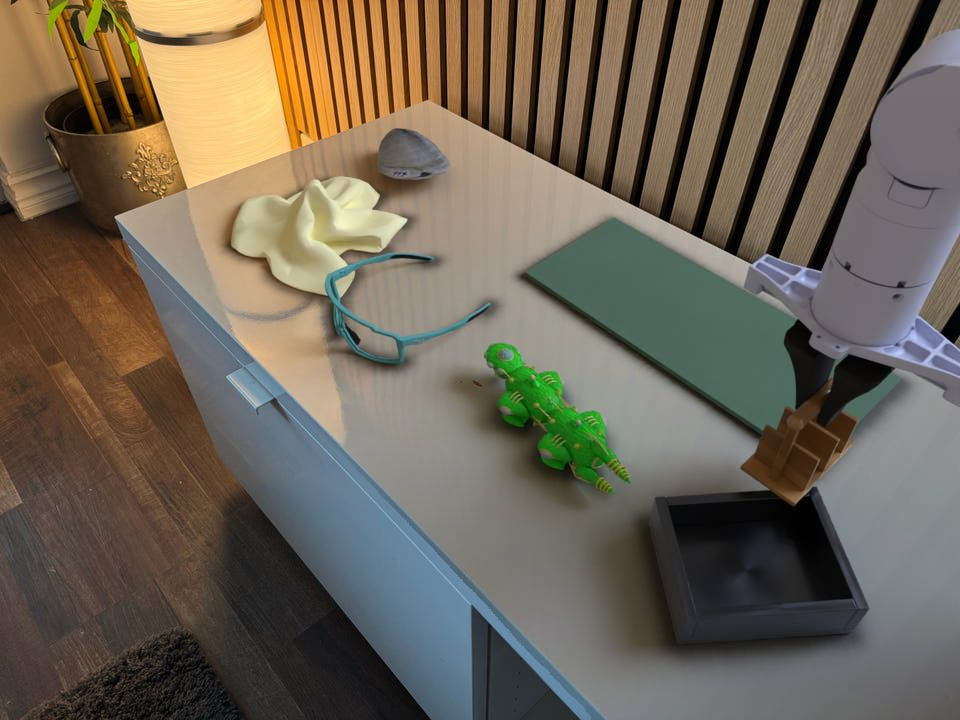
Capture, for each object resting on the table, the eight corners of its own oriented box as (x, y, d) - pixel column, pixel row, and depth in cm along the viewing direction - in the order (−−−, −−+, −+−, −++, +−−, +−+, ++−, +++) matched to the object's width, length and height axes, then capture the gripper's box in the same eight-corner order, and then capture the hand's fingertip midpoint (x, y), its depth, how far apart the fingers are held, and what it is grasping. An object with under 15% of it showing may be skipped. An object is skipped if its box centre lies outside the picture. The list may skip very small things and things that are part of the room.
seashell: (357, 164, 96) (351, 128, 93) (413, 143, 100) (409, 108, 96) (405, 207, 90) (400, 170, 86) (463, 183, 93) (461, 146, 89)
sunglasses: (303, 310, 77) (297, 270, 74) (422, 262, 84) (422, 223, 81) (379, 388, 69) (376, 347, 66) (503, 327, 77) (506, 288, 73)
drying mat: (899, 382, 68) (901, 378, 67) (812, 469, 62) (814, 465, 61) (613, 221, 86) (614, 217, 86) (524, 276, 80) (524, 271, 80)
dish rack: (800, 412, 59) (828, 344, 54) (853, 445, 57) (888, 378, 52) (739, 468, 56) (763, 402, 50) (793, 507, 53) (824, 442, 48)
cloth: (209, 218, 89) (193, 172, 85) (349, 166, 96) (341, 121, 92) (287, 321, 76) (273, 274, 72) (442, 253, 83) (438, 206, 79)
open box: (803, 514, 59) (817, 486, 56) (851, 633, 52) (870, 608, 49) (648, 524, 59) (654, 496, 56) (677, 645, 52) (686, 620, 49)
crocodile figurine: (520, 352, 72) (520, 319, 69) (651, 479, 61) (657, 447, 58) (462, 382, 70) (459, 349, 67) (588, 520, 59) (591, 489, 56)
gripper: (735, 230, 45) (696, 383, 55) (984, 357, 37) (887, 509, 47) (801, 183, 48) (753, 336, 58) (1044, 291, 40) (941, 447, 50)
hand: (817, 410), depth 53 cm, fingers closed on dish rack
